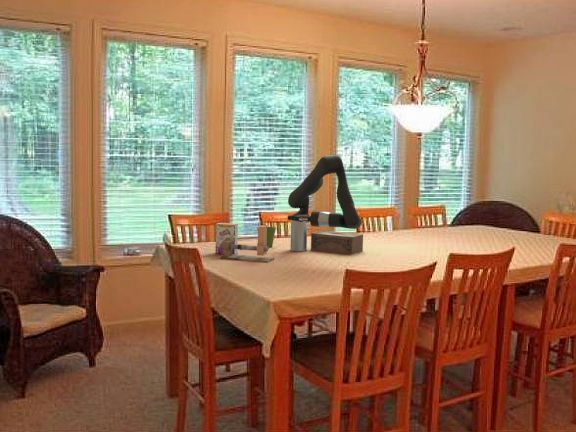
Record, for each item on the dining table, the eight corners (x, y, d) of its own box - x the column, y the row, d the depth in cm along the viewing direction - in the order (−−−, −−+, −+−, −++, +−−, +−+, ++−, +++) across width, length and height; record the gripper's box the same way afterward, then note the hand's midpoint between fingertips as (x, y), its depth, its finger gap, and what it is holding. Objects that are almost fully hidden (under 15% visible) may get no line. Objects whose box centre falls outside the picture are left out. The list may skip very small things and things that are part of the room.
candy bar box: (215, 253, 336) (215, 223, 334) (218, 252, 341) (218, 222, 339) (234, 255, 333) (235, 224, 331) (237, 253, 338) (238, 223, 336)
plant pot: (277, 245, 369) (277, 226, 368) (274, 248, 357) (275, 229, 356) (257, 244, 370) (257, 226, 369) (254, 248, 359) (254, 228, 357)
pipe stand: (227, 255, 331) (228, 239, 330) (274, 259, 323) (274, 243, 323) (220, 258, 322) (220, 242, 321) (267, 262, 314) (267, 246, 313)
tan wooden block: (261, 253, 323) (261, 225, 322) (266, 253, 322) (267, 225, 321) (257, 255, 318) (257, 226, 316) (262, 255, 317) (263, 226, 315)
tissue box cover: (310, 250, 356) (311, 233, 355) (322, 247, 369) (322, 230, 368) (352, 255, 343) (352, 237, 342) (362, 251, 356) (363, 234, 355)
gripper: (324, 210, 318) (292, 209, 323) (317, 212, 305) (284, 211, 310) (324, 225, 318) (291, 223, 324) (317, 228, 306) (283, 226, 311)
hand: (288, 217), depth 317 cm, fingers closed
